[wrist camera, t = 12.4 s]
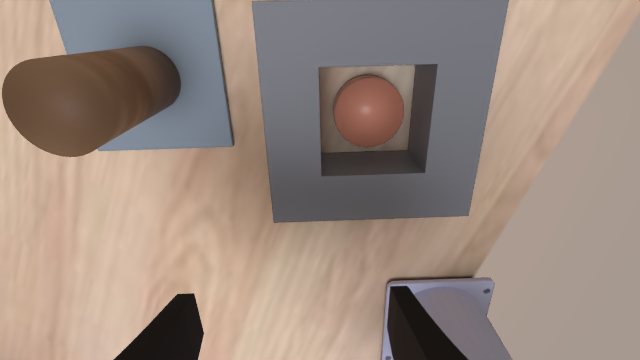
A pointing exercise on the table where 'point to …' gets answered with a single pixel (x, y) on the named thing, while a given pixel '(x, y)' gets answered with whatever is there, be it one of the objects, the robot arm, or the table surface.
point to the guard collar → (426, 116)
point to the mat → (174, 41)
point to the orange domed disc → (368, 111)
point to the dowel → (88, 96)
